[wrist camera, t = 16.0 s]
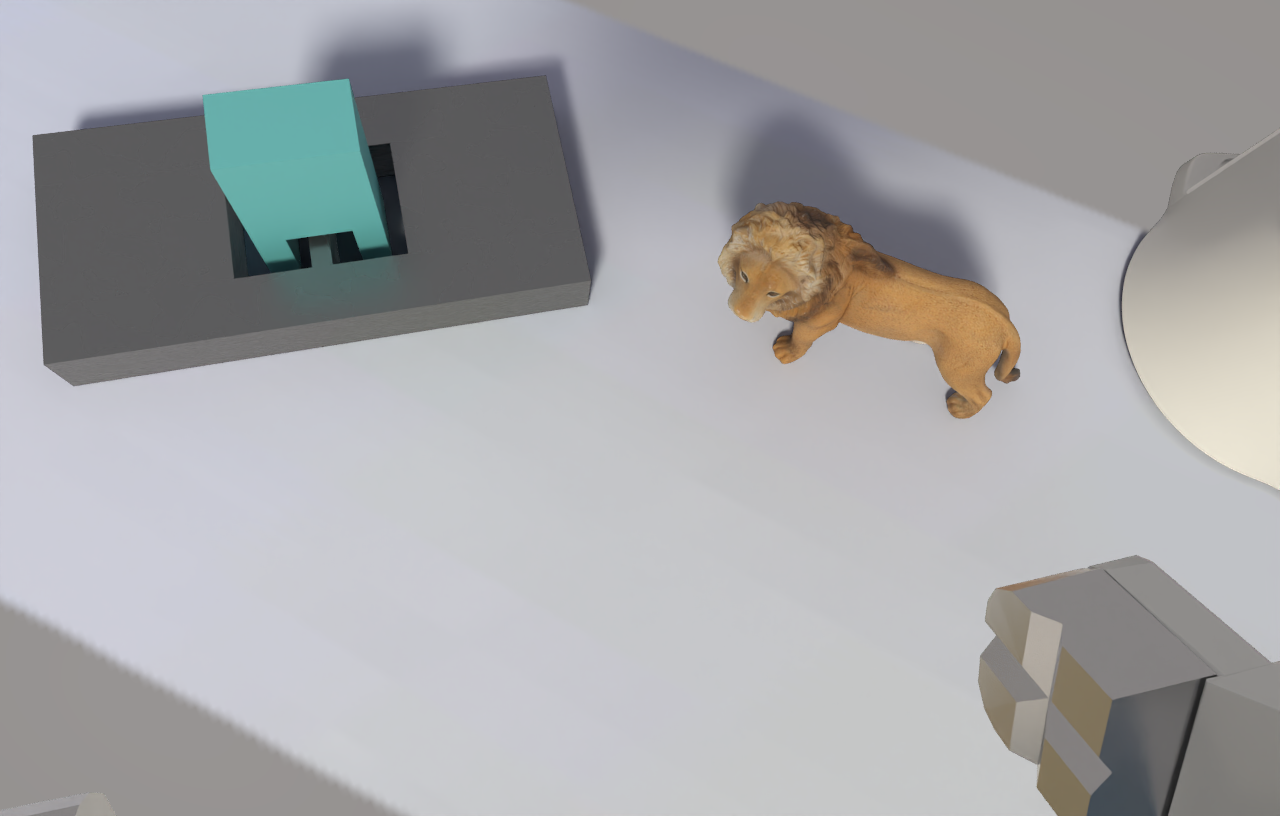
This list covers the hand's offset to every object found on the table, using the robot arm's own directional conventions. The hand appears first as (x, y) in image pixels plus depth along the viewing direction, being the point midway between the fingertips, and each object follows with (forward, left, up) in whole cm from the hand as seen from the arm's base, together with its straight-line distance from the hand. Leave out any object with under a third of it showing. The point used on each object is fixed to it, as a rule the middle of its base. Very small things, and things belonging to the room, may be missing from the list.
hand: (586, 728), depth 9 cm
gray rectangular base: (+5, -21, -29) cm, 37 cm away
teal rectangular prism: (+5, -21, -29) cm, 37 cm away
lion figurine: (-16, -12, -30) cm, 36 cm away
